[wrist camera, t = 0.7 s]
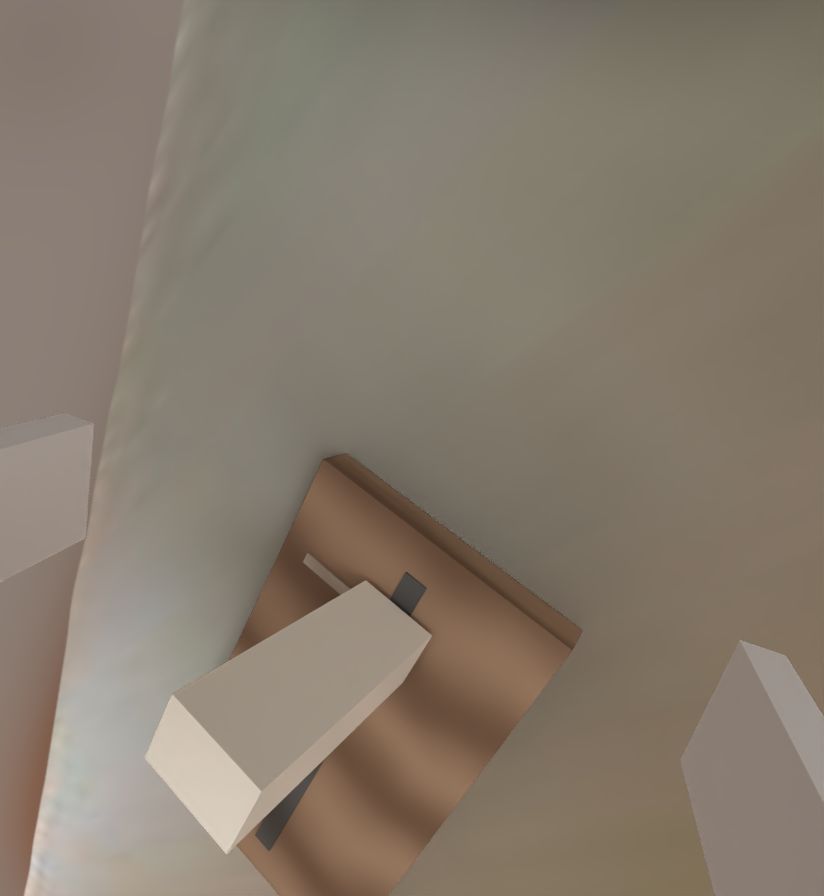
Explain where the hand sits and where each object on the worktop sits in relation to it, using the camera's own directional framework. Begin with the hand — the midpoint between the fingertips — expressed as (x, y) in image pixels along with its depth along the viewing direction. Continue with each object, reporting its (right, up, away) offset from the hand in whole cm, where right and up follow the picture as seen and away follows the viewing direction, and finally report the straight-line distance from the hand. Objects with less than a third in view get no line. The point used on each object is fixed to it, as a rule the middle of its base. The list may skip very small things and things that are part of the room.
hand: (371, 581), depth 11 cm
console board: (-2, -11, +20) cm, 24 cm away
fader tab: (-1, -6, +16) cm, 17 cm away
